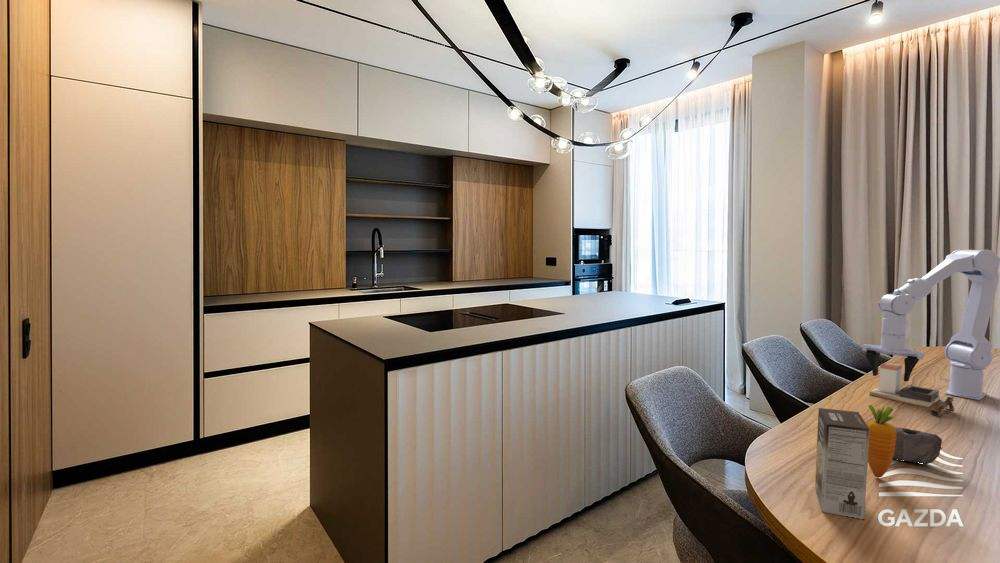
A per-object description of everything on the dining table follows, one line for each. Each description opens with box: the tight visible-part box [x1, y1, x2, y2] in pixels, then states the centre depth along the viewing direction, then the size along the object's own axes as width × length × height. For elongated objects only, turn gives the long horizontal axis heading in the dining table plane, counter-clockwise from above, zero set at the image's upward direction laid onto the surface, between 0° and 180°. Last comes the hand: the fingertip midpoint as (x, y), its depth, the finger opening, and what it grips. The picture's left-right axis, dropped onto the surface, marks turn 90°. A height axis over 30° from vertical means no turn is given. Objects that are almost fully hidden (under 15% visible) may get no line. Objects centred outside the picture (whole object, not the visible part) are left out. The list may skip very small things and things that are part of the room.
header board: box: [869, 384, 941, 408], centre depth 147 cm, size 11×14×3 cm
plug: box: [878, 362, 903, 394], centre depth 150 cm, size 5×4×8 cm
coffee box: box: [814, 407, 870, 520], centre depth 87 cm, size 9×6×16 cm
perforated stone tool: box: [892, 426, 943, 466], centre depth 106 cm, size 15×5×7 cm, turn 45°
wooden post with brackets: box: [929, 396, 955, 417], centre depth 133 cm, size 2×8×4 cm, turn 109°
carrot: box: [865, 404, 897, 478], centre depth 97 cm, size 5×5×15 cm
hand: (890, 377), depth 150 cm, fingers open, 7 cm apart
